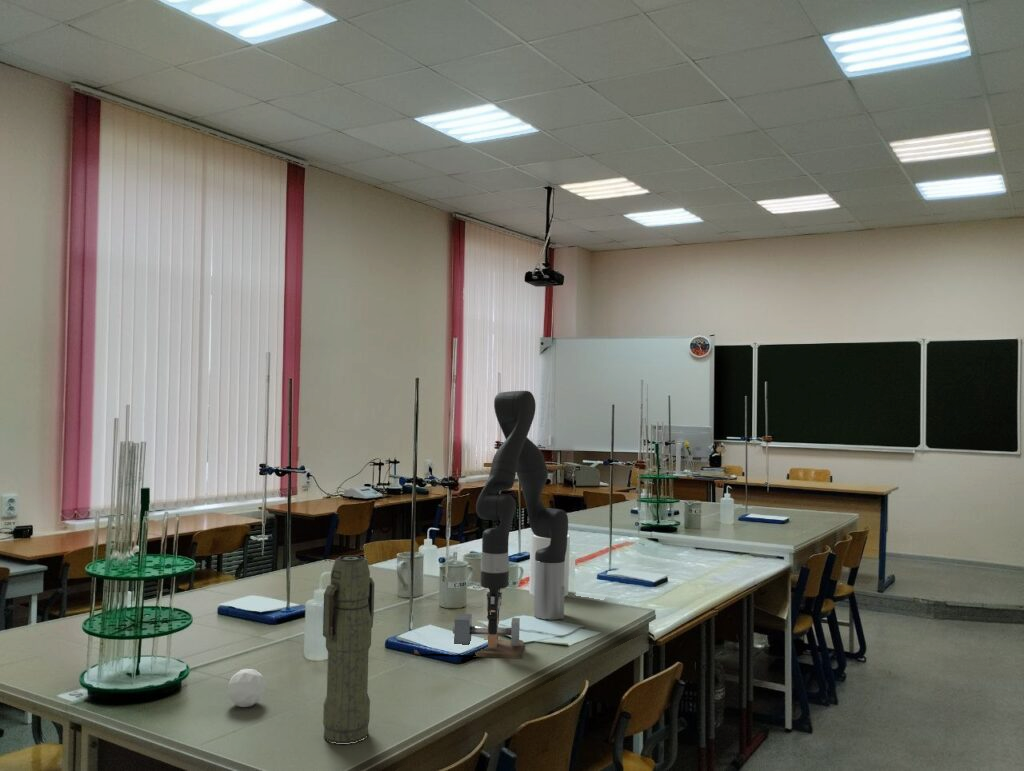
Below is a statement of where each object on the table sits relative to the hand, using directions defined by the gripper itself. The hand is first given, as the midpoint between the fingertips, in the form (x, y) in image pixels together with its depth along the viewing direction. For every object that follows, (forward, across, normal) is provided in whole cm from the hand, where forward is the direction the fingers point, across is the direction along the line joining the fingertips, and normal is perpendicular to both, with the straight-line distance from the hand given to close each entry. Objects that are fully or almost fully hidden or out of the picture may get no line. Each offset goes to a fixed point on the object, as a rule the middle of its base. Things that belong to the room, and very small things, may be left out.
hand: (493, 629), depth 214 cm
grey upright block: (+4, 0, +8) cm, 9 cm away
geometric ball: (+5, -44, +50) cm, 67 cm away
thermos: (+5, -57, +25) cm, 63 cm away
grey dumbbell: (+3, 0, +2) cm, 4 cm away
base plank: (+5, 0, +6) cm, 8 cm away
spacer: (+3, 0, 0) cm, 3 cm away
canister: (+6, +65, -15) cm, 67 cm away
